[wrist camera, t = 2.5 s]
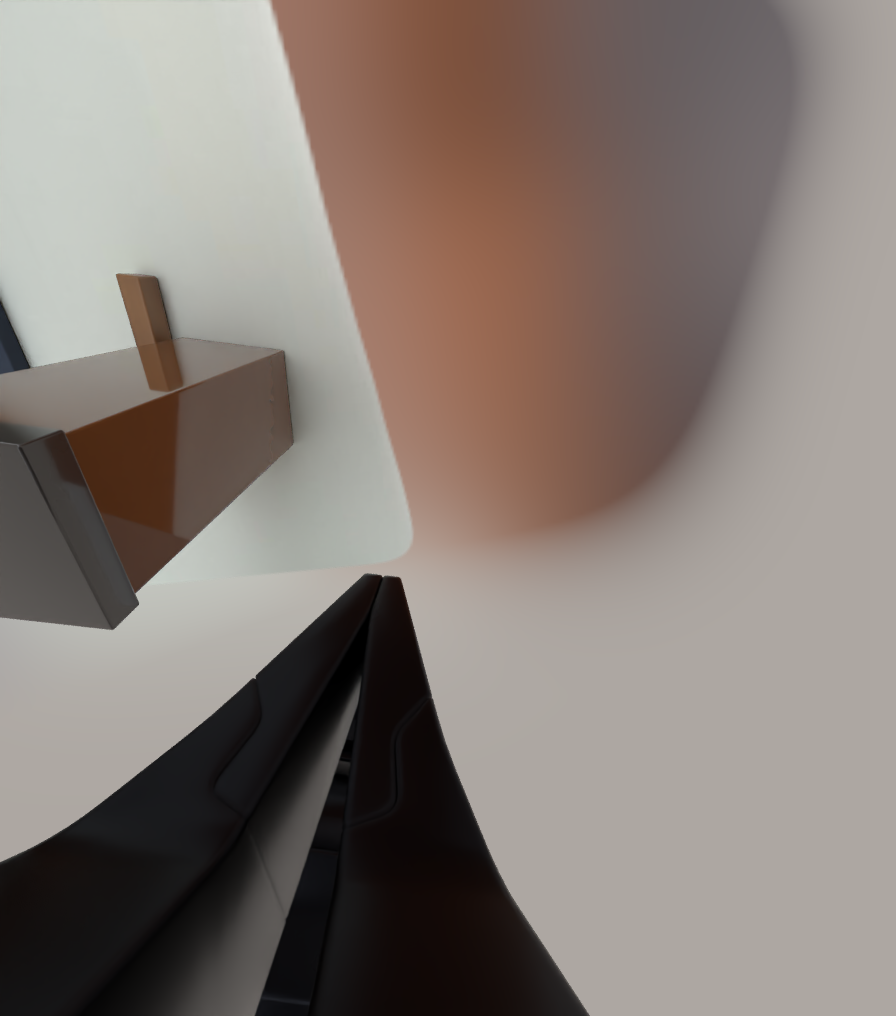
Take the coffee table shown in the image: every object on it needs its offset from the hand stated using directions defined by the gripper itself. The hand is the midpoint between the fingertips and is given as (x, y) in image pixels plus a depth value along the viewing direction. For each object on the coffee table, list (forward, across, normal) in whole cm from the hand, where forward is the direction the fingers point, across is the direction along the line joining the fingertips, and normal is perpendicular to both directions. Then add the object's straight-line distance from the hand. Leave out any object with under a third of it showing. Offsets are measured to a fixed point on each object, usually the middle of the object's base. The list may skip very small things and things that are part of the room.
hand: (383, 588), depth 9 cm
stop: (+13, +14, 0) cm, 19 cm away
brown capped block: (+13, +10, 0) cm, 16 cm away
